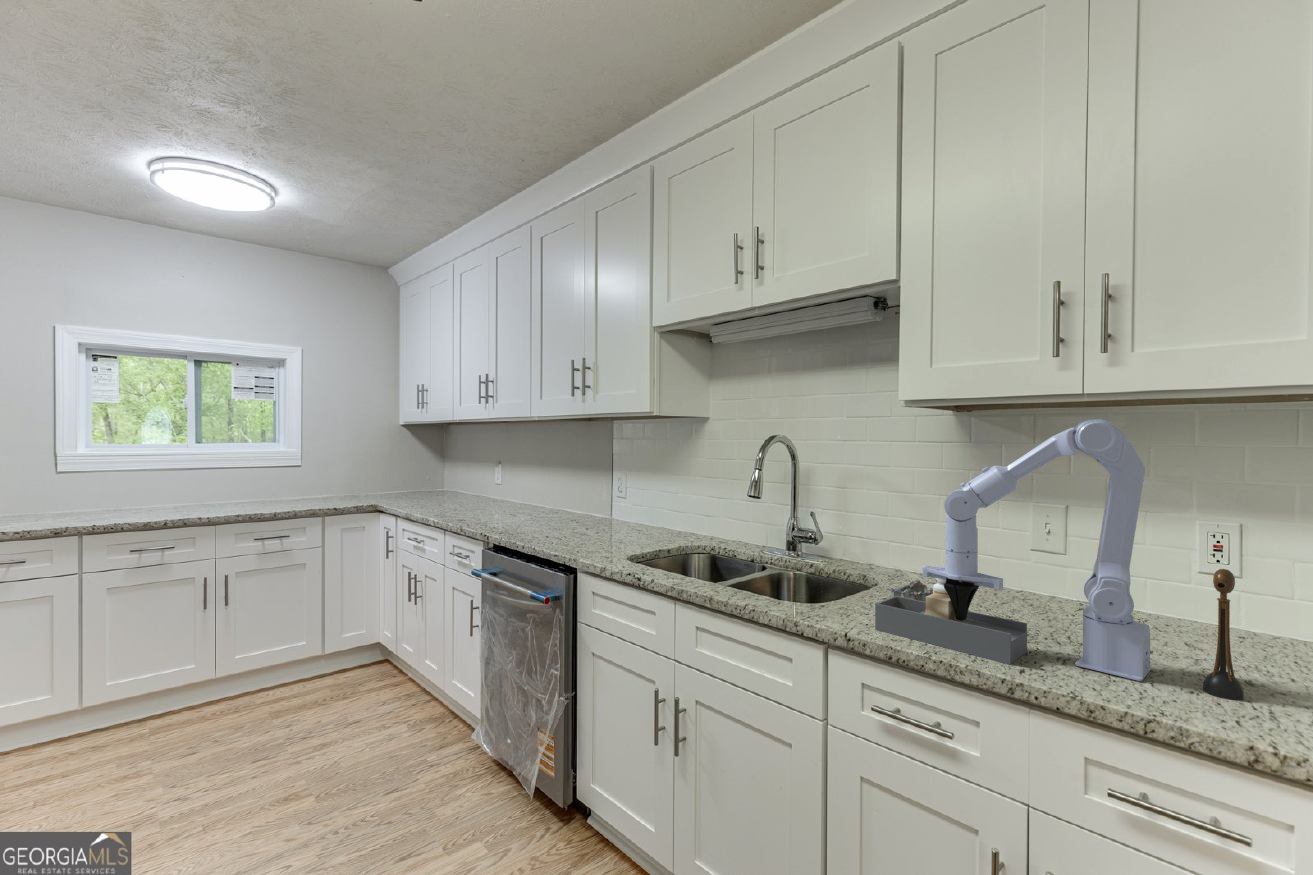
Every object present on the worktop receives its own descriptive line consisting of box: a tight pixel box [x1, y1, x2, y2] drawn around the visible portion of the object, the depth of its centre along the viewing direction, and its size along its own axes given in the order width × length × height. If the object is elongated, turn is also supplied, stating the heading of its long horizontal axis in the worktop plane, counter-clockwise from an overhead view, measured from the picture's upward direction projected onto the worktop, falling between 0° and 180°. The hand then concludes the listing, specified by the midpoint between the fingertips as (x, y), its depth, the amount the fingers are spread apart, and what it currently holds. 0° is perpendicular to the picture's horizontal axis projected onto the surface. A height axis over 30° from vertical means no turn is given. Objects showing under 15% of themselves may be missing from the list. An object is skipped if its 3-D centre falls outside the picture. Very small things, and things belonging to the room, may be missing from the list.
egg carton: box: [888, 579, 933, 602], centre depth 150 cm, size 11×8×4 cm
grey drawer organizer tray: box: [874, 596, 1028, 665], centre depth 121 cm, size 26×9×6 cm, turn 42°
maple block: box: [926, 593, 957, 621], centre depth 122 cm, size 4×4×4 cm
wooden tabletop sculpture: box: [1202, 568, 1244, 701], centre depth 96 cm, size 6×5×20 cm
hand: (961, 619), depth 119 cm, fingers closed
